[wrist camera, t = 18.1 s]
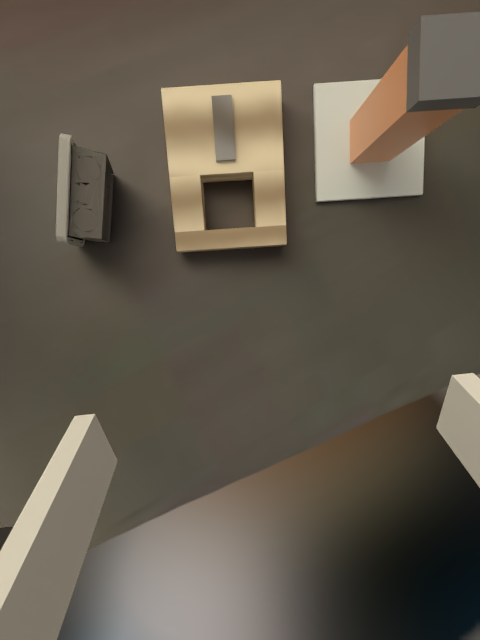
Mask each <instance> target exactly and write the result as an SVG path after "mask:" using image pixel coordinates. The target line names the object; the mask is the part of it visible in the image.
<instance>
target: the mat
mask: <svg viewBox="0 0 480 640" xmlns="http://www.w3.org/2000/svg"><path fill="white" fill-rule="evenodd" d="M380 80H381V79H378V80H363V81H348V82H334V83H319V84H314V86H313V104H314V149H315V194H316V202H326V201H341V200H356V199H371V198H387V197H402V196H417V195H422V194H423V171H424V140H425V137H423V138H422V139H420V140H419V141H417V142H416V143H415V144H413V145H412V146H410V147H409V148H407V149H406V150H405V151H403V152H402V153H400V154H399V155H397V156H396V157H395V158H393V159H392V160H390V161H384V162H369V163H354V164H350V120H351V118H352V117H353V116H354V115H355V113H356V112H357V111H358V109H359V108H360V107H361V105H362V104H363V103H364V101H365V100H366V99H367V97H368V96H369V95H370V93H371V92H372V91H373V90H374V88H375V87H376V86H377V84H378V83H379V82H380Z"/></svg>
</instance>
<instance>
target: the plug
mask: <svg viewBox="0 0 480 640" xmlns="http://www.w3.org/2000/svg"><path fill="white" fill-rule="evenodd" d="M479 105H480V12H470V13H455V14H441V15H426V16H421V17H420V18H419V20H418V21H417V22H416V24H415V25H414V27H413V28H412V29H411V31H410V32H409V33H408V45H407V46H406V47H405V49H404V50H403V51H402V53H401V54H400V55H399V57H398V58H397V59H396V61H395V62H394V63H393V65H392V66H391V67H390V68H389V70H388V71H387V72H386V74H385V75H384V76H383V78H382V79H381V80H380V82H379V83H378V84H377V86H376V87H375V88H374V90H373V91H372V92H371V93H370V95H369V96H368V97H367V99H366V100H365V101H364V103H363V104H362V105H361V107H360V108H359V109H358V111H357V112H356V113H355V115H354V116H353V117H352V118H351V120H350V164H354V163H369V162H384V161H390V160H392V159H393V158H395V157H396V156H397V155H399V154H400V153H402V152H403V151H405V150H406V149H407V148H409V147H410V146H412V145H413V144H415V143H416V142H417V141H419V140H420V139H422V138H423V137H425V136H426V135H427V134H429V133H430V132H432V131H433V130H434V129H436V128H437V127H439V126H440V125H442V124H443V123H444V122H446V121H447V120H449V119H450V118H452V117H453V116H454V115H456V114H457V113H459V112H460V111H462V110H463V109H465V108H476V107H477V106H479Z"/></svg>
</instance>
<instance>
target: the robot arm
mask: <svg viewBox="0 0 480 640" xmlns="http://www.w3.org/2000/svg"><path fill="white" fill-rule="evenodd" d="M436 428H437V429H438V431H439V432H440V433H441V435H442V436H443V438H444V439H445V440H446V442H447V443H448V445H449V446H450V447H451V449H452V450H453V451H454V453H455V454H456V455H457V457H458V458H459V460H460V461H461V462H462V464H463V465H464V467H465V468H466V469H467V471H468V472H469V473H470V475H471V476H472V478H473V479H474V480H475V482H476V483H477V484H478V486H479V487H480V379H479V378H478V377H477V376H476V375H475V374H474V373H469V374H460V375H452V377H451V380H450V383H449V387H448V390H447V393H446V397H445V400H444V404H443V407H442V410H441V414H440V417H439V420H438V424H437V427H436ZM116 464H117V459H116V456H115V454H114V452H113V450H112V448H111V446H110V444H109V442H108V440H107V438H106V436H105V434H104V432H103V429H102V427H101V425H100V423H99V421H98V419H97V417H96V415H95V414H89V415H80V416H74V418H73V420H72V422H71V424H70V426H69V427H68V429H67V431H66V433H65V435H64V436H63V438H62V440H61V442H60V444H59V445H58V447H57V449H56V451H55V453H54V455H53V456H52V458H51V460H50V462H49V464H48V465H47V467H46V469H45V471H44V473H43V474H42V476H41V478H40V480H39V482H38V483H37V485H36V487H35V489H34V491H33V493H32V494H31V496H30V498H29V500H28V502H27V503H26V505H25V507H24V509H23V511H22V512H21V514H20V516H19V518H18V520H17V522H16V523H15V525H14V527H4V528H0V640H57V637H58V634H59V632H60V629H61V626H62V623H63V620H64V617H65V614H66V611H67V608H68V605H69V602H70V599H71V596H72V593H73V590H74V587H75V585H76V581H77V578H78V576H79V573H80V570H81V567H82V564H83V561H84V558H85V555H86V552H87V549H88V546H89V544H90V541H91V538H92V535H93V532H94V529H95V526H96V523H97V520H98V517H99V514H100V511H101V508H102V505H103V502H104V500H105V497H106V494H107V491H108V488H109V485H110V482H111V479H112V476H113V473H114V470H115V467H116Z"/></svg>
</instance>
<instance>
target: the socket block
mask: <svg viewBox="0 0 480 640" xmlns="http://www.w3.org/2000/svg"><path fill="white" fill-rule="evenodd" d="M161 93H162V103H163V114H164V124H165V135H166V145H167V156H168V166H169V177H170V187H171V198H172V208H173V219H174V229H175V240H176V250H177V252H181V253H182V252H198V251H213V250H229V249H244V248H259V247H275V246H284V245H286V244H287V235H286V209H285V182H284V156H283V129H282V103H281V80H276V81H262V82H247V83H232V84H217V85H202V86H188V87H173V88H161ZM238 180H252V186H253V204H254V223H255V227H248V228H233V229H218V230H207V225H206V212H205V199H204V187H203V183H208V182H223V181H238Z"/></svg>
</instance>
